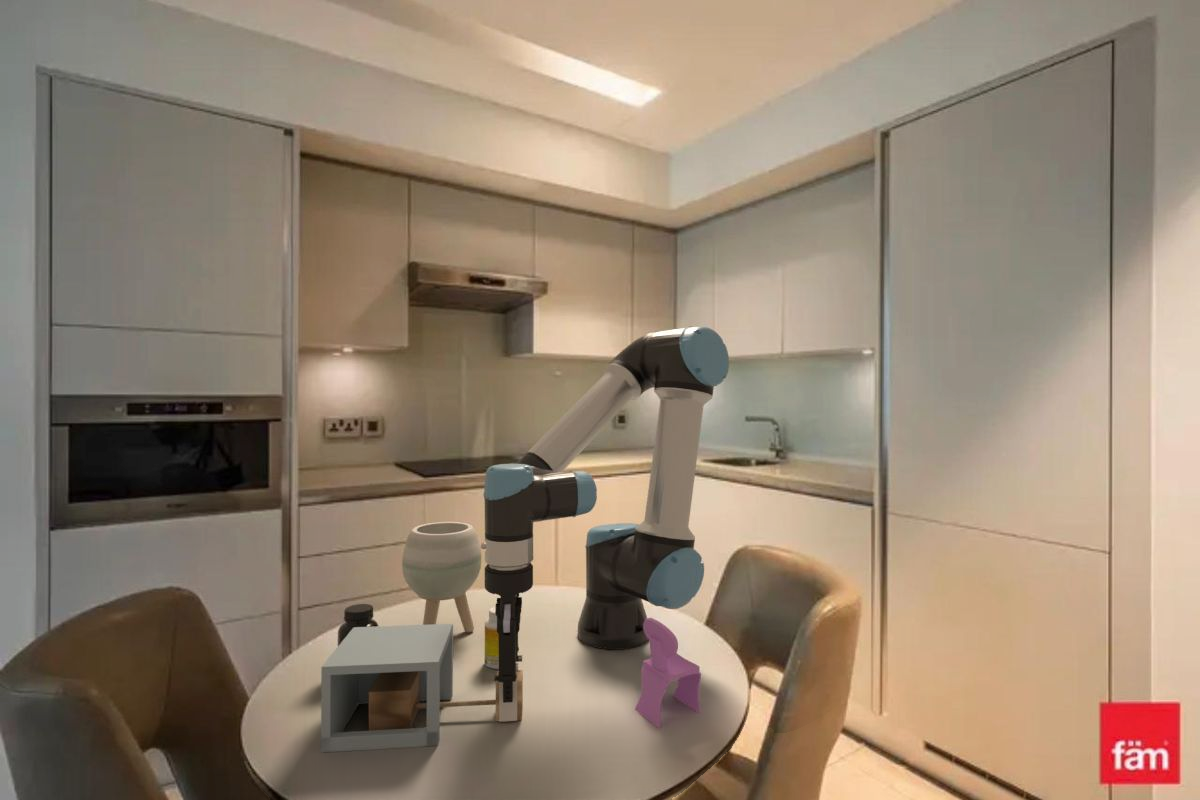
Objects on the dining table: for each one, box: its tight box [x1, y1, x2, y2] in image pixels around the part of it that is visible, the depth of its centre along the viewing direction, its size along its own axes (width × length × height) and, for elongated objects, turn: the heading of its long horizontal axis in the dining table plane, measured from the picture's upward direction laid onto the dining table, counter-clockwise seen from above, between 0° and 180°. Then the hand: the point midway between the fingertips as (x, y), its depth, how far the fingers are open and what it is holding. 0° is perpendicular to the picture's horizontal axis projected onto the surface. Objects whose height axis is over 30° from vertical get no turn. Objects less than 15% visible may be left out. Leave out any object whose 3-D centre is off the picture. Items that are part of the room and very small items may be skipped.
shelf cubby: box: [320, 623, 454, 753], centre depth 88 cm, size 16×14×12 cm
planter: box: [401, 521, 482, 633], centre depth 121 cm, size 16×16×22 cm
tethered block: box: [368, 669, 524, 731], centre depth 89 cm, size 22×6×6 cm, turn 96°
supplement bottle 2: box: [484, 605, 499, 670], centre depth 108 cm, size 6×6×10 cm
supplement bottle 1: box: [336, 603, 379, 648], centre depth 103 cm, size 7×7×12 cm
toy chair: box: [634, 617, 702, 729], centre depth 92 cm, size 8×9×15 cm
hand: (509, 711), depth 90 cm, fingers closed on tethered block, 3 cm apart
